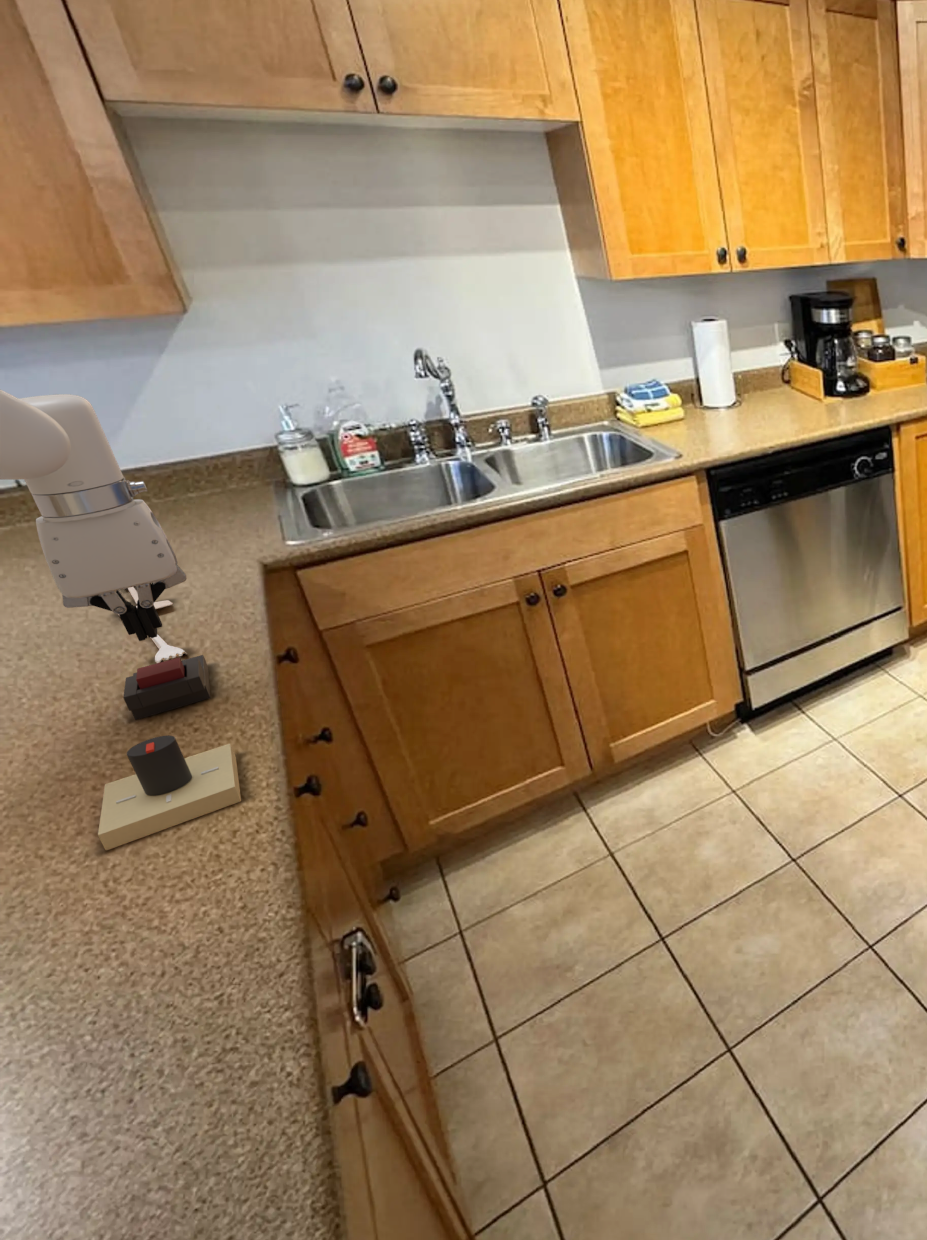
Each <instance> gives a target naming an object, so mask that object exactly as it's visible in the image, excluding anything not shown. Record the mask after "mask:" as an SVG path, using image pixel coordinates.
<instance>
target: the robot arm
mask: <svg viewBox="0 0 927 1240" xmlns="http://www.w3.org/2000/svg"><path fill="white" fill-rule="evenodd" d="M0 480H3V481H4V480H6V481H8V480H13V481H14V480H15V481H16V480H24V482H25V484H26V486H27V489H28V490H29V492H30V494H31V496H32V498H33V501H34V503H35V505H36V507H37V509H38V510H39V513H40V515H41V516H39V517H36V518H35V525H36V531H37V536H38V540H39V543H40V547H41V549H42V553H43V555H44V559H45V561H46V563H47V566H48V569H49V572H50V574H51V576H52V579H53V581H54V583H55V585H56V588H57V589H58V591H59V592H60V594H61V596H62V605H63V606H64V608H67V609H72V608H85V607H87V608H88V607H95V608H99V609H102V610H106V611H109V612H112V613H113V614H115V615H118V614H119V615H118V616H119V618H120V620H121V622H122V624H123V626H124V629H125V630H126V632H127V634H128V635H129V636H131V635H136V638H137V639H138V641H139V642H141V641H145V640H146V639H148V638H150V637H151V638H154V637H157V634H158V629H159V628H162V627H163V623H162V620H161V618H160V616H159V614H158V611H157V609H155V607H154V602H157V600H158V598H159V597H160V596H161V595H162V594H163V593H164V591H166V590H167V589H171V588H173V587H175V586H177V585H180V584H182V583H184V582H186V581H187V574H186V573H185V572H184V570H183V569H182V568H181V566H179V565H178V559H177V556H176V553H175V551H174V549H173V547H172V545H171V543H170V541H169V539H168V537H167V535H166V533H165V531H164V529H163V528H162V525H161V524H160V521H159V520H158V519H157V517H156V515H155V514H154V512H153V511H152V510H151V508H150V506H148V504H147V503H146V502H145V500H143V499H141V498H140V499H139V498H138V499H134V497H136V495H139V494H140V493H144V492H145V493H146V492H148V488H147V486H146V483H145V482H144V480H139V481H130V480H129V479H126V477H125V476H124V474H123V472H122V470H121V468H120V466H119V463H118V461H117V458H116V456H115V454H114V452H113V450H112V447H111V445H110V443H109V440H108V438H107V436H106V433H105V431H104V428H103V427H102V424H101V422H100V419H99V417H98V415H97V413H96V411H95V409H94V407H93V405H92V404H91V402H90V401H89V400H88V399H86V398H85V397H83V396H80V395H78V394H71V393H70V394H69V393H66V394H65V393H61V394H43V395H35V396H27V397H20V398H19V397H16V396H14V395H12V394H11V393H9V392H7V391H4V390H2V389H0ZM135 586H136V587H135ZM130 587H135V590H136V591H137V594H138V599H139V600H138V601H137V604H136V605H134V604H132V602H131V601H128V600H127V598H126V597H125V596H124V595H123V594H122V592H121V591H122V590H127V589H126V588H130ZM120 590H121V591H120ZM136 606H137V607H136ZM151 638H150V639H151Z"/></svg>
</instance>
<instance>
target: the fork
mask: <svg viewBox="0 0 927 1240" xmlns="http://www.w3.org/2000/svg"><path fill="white" fill-rule="evenodd" d="M150 639H151V640H152V641H153V643H154V644H155V646H156V648H158V651H157V652H156V654H155V656H154V662H155V664H157V663H160V662H164V661H168V660H172V659H176V658H180V657H183V655H184V654H185V655H188V653H187V652H186V651H185V650H184V649H183V648H180V647H177V646H173V645H169V644H168V643H167V642H166V641H165V640H164V639H163V638H162V637H161V636H160V635H159V634H158V633H157V637H154V638H151V637H150Z"/></svg>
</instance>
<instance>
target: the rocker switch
mask: <svg viewBox="0 0 927 1240" xmlns="http://www.w3.org/2000/svg"><path fill="white" fill-rule="evenodd" d="M181 661H182V663H183V666H184V668H185V677H184V678H180V679H176V680H173V681H169V682H165V683H162V684H158V685H155V686H151V687H147V688H144V689H140V687H139V685H138V683H137V681H136V677H137V672H133V673H132V675H131V676H127V677H125V681H124V690H123V697H122V698H123V700H124V703H125V705H126V707H127V709H128V711H129V712H131V714H132V716H133V718H134V720H135V721H137V720H141V719H144V718H148V717H151V716H154V715H159V714H160V713H164V712H167V711H171V710H175V709H178V708H181V707H184V706H188V705H191V704H195V703H199V702H202V701H205V700H208V699H211V685H210V673H209V672H210V671H209V665H208V663H207V661H206V659H205V656H204V654H200V655H198V656H193V657H189V658H186V659H181Z"/></svg>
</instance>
